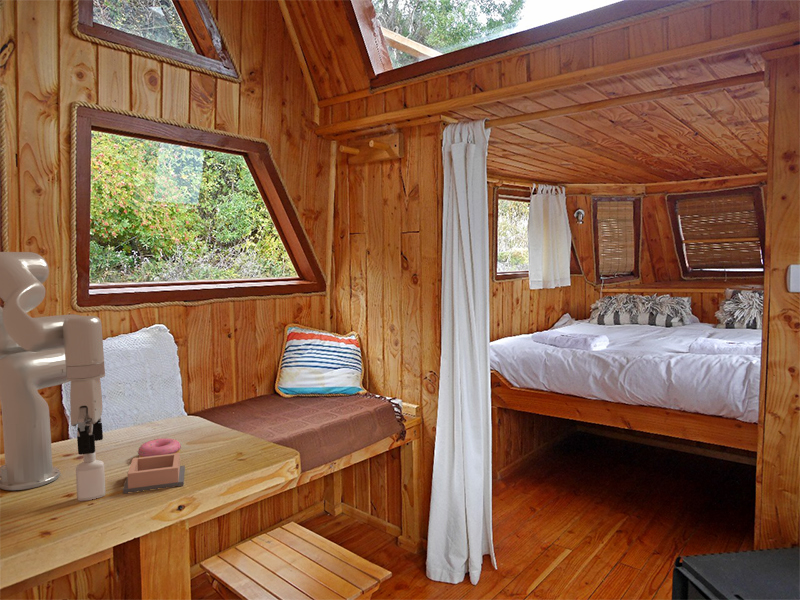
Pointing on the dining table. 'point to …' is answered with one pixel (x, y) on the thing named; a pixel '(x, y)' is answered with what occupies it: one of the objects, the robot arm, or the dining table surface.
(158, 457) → the socket stand
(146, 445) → the doughnut
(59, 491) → the dining table surface
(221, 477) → the dining table surface
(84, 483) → the squeeze bottle
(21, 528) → the dining table surface
